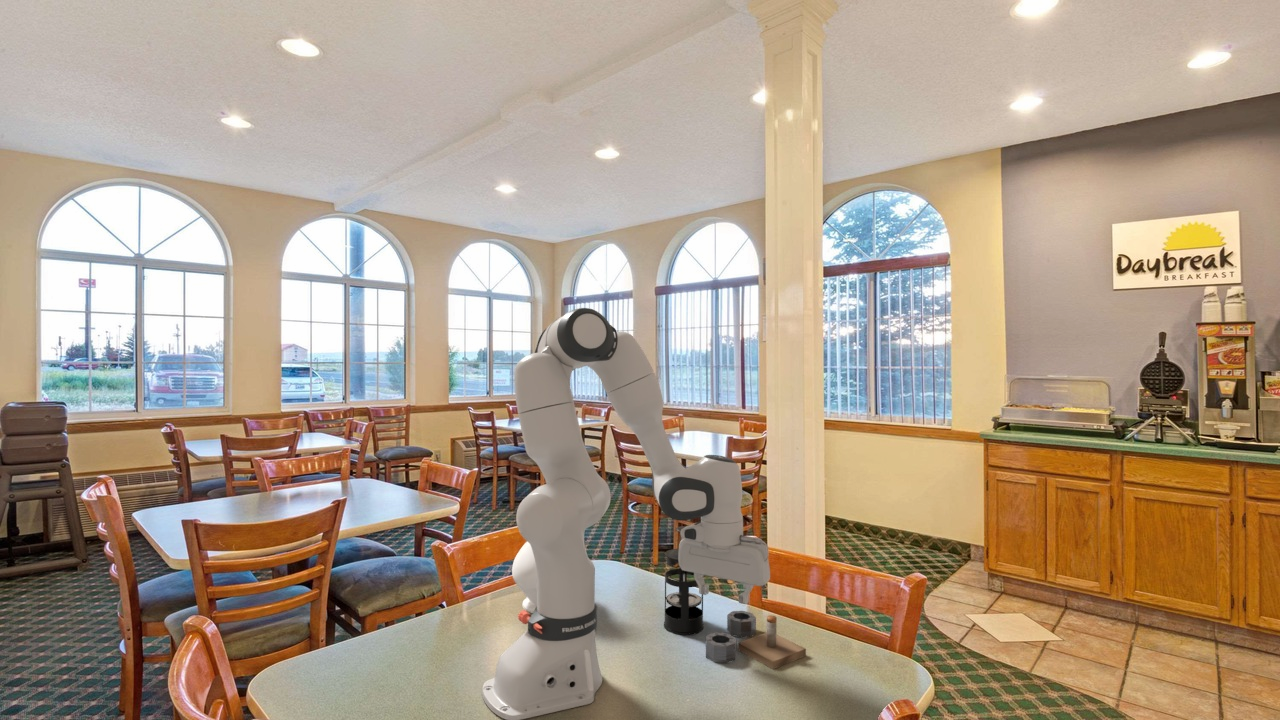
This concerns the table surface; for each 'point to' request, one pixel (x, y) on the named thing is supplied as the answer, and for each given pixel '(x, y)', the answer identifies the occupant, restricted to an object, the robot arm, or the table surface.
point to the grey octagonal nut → (720, 647)
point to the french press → (682, 600)
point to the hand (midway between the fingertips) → (723, 598)
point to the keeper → (771, 647)
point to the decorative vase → (526, 576)
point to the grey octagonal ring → (741, 624)
